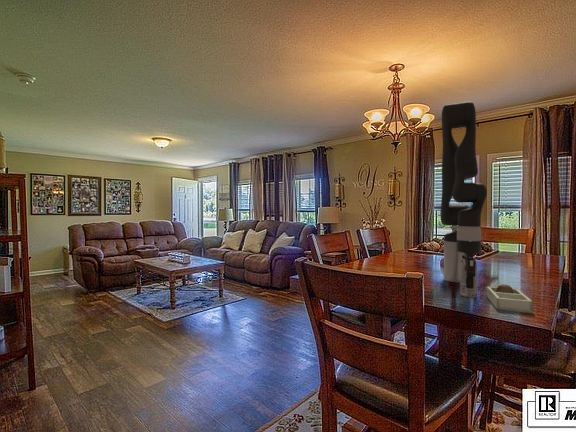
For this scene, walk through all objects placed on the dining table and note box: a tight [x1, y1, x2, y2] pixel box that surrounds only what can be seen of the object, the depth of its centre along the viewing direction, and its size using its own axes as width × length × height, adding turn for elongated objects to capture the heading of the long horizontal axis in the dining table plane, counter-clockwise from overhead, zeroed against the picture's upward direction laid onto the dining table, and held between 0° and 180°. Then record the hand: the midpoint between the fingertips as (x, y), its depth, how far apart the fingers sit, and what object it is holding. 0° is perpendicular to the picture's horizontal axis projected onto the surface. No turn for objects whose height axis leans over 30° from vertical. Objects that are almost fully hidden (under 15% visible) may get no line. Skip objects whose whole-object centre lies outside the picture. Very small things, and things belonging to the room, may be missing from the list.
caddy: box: [486, 286, 534, 314], centre depth 101 cm, size 16×9×4 cm, turn 157°
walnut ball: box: [496, 284, 514, 294], centre depth 105 cm, size 5×5×5 cm
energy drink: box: [459, 262, 478, 299], centre depth 111 cm, size 5×5×12 cm
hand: (468, 286), depth 111 cm, fingers closed on energy drink, 5 cm apart
